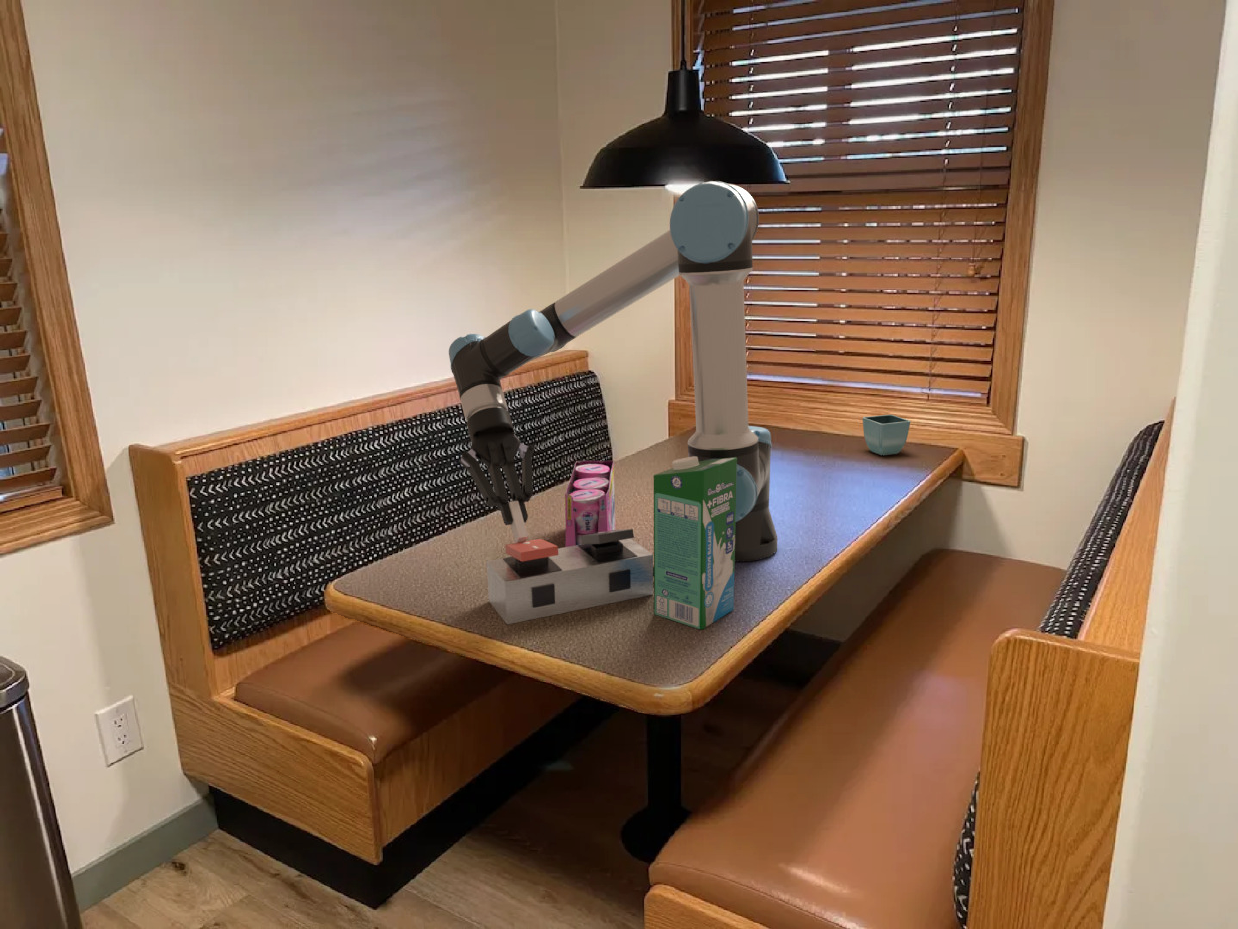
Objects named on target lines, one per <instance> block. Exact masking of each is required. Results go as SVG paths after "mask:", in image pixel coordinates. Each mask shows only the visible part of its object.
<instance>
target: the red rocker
mask: <svg viewBox="0 0 1238 929" xmlns="http://www.w3.org/2000/svg"><path fill="white" fill-rule="evenodd" d="M504 546H505V548H504V549H505V554H506V555H508V556H509V557H514V558H516V559H518V560H520V561H521V562H522V561H528V560H533V559H539V558H545V557H550V556H556V555H558V548H559V547H558V546H559V545H556V544H554V543H552V542H548V541H547V540H545V539H542V538H538V539H530V540H526V541H524V542H519V543H515V542H513V543H507V544H504Z"/></svg>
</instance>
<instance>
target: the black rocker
mask: <svg viewBox="0 0 1238 929" xmlns="http://www.w3.org/2000/svg"><path fill="white" fill-rule="evenodd" d="M630 538H631V539H635V536H634V530H633V528H630V529H629V528H628V529H615V530H611V531H605V532H599V533H594V534H588V535H582V536H581V542H582V544H602V543H607V542H613V541H619V540H624V539H630Z"/></svg>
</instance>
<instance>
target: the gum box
mask: <svg viewBox="0 0 1238 929" xmlns="http://www.w3.org/2000/svg"><path fill="white" fill-rule="evenodd" d="M615 493H616V492H615V460H576V461H575V463H574V467H573V469H572V473H571V477H570V479H569V482H568V485H567V486H566V489H565V494H564V513H565V514H564V516H565V517H564V518H565V519H564V520H565V547H570V546H575V545H581V544H582V542H581V536H582V535H588V534H594V533H599V532H605V531H611V530H616V501H615V498H616V495H615Z"/></svg>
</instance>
